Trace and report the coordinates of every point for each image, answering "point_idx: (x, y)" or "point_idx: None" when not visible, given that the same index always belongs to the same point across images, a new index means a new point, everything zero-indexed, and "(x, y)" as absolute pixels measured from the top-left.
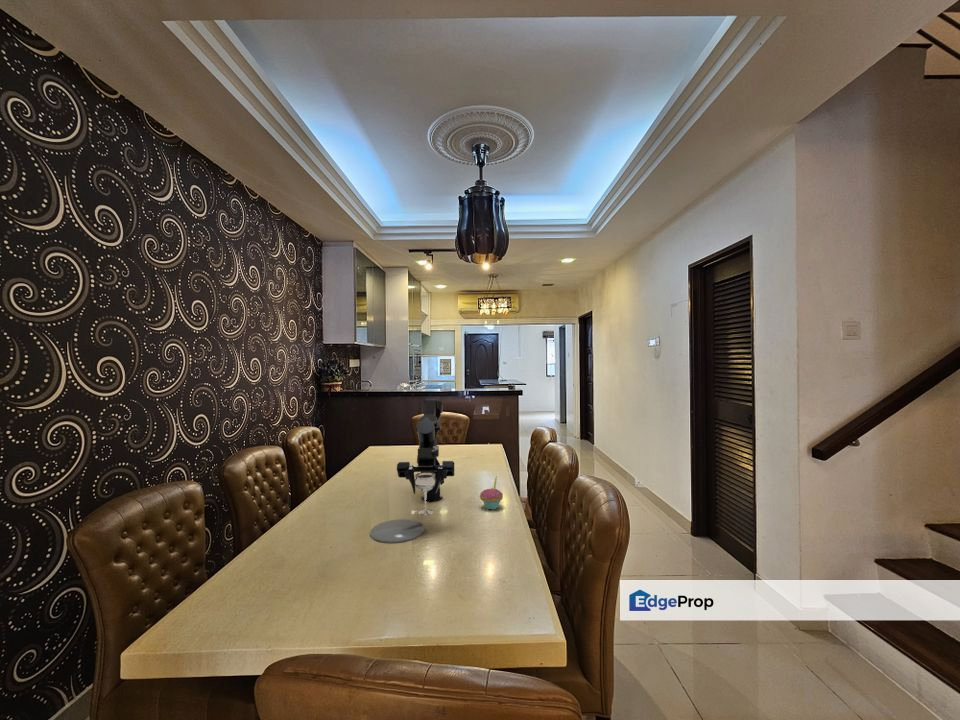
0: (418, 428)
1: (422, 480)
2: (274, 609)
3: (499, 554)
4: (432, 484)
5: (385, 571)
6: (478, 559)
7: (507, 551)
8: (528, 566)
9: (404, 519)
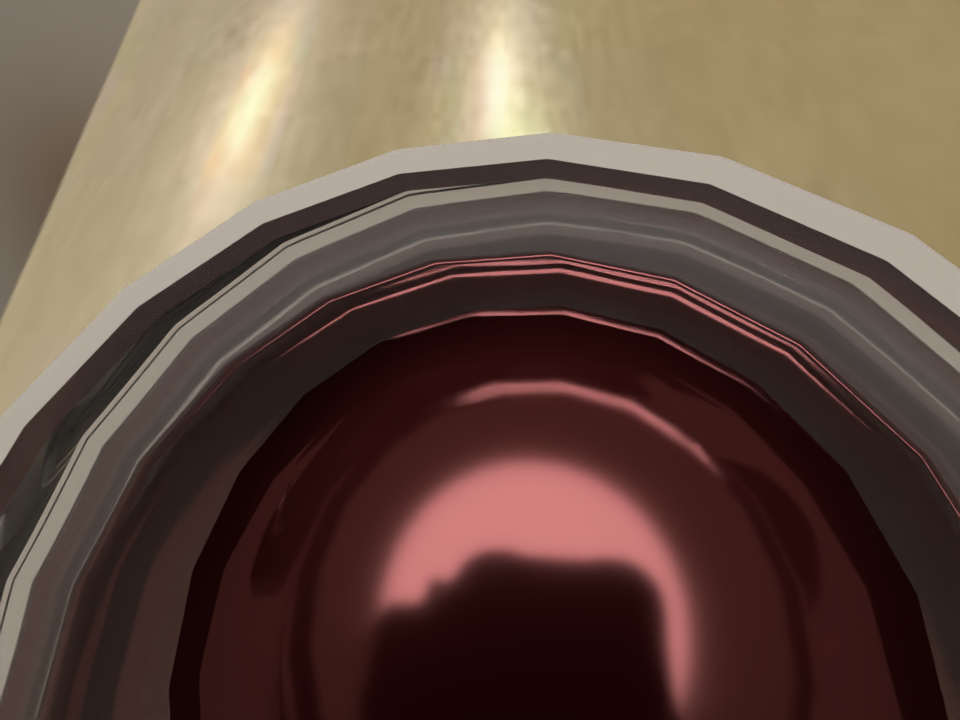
0: None
1: (596, 263)
2: None
3: (166, 224)
4: (306, 392)
5: (746, 73)
6: (275, 180)
7: (119, 251)
8: (101, 127)
9: None
